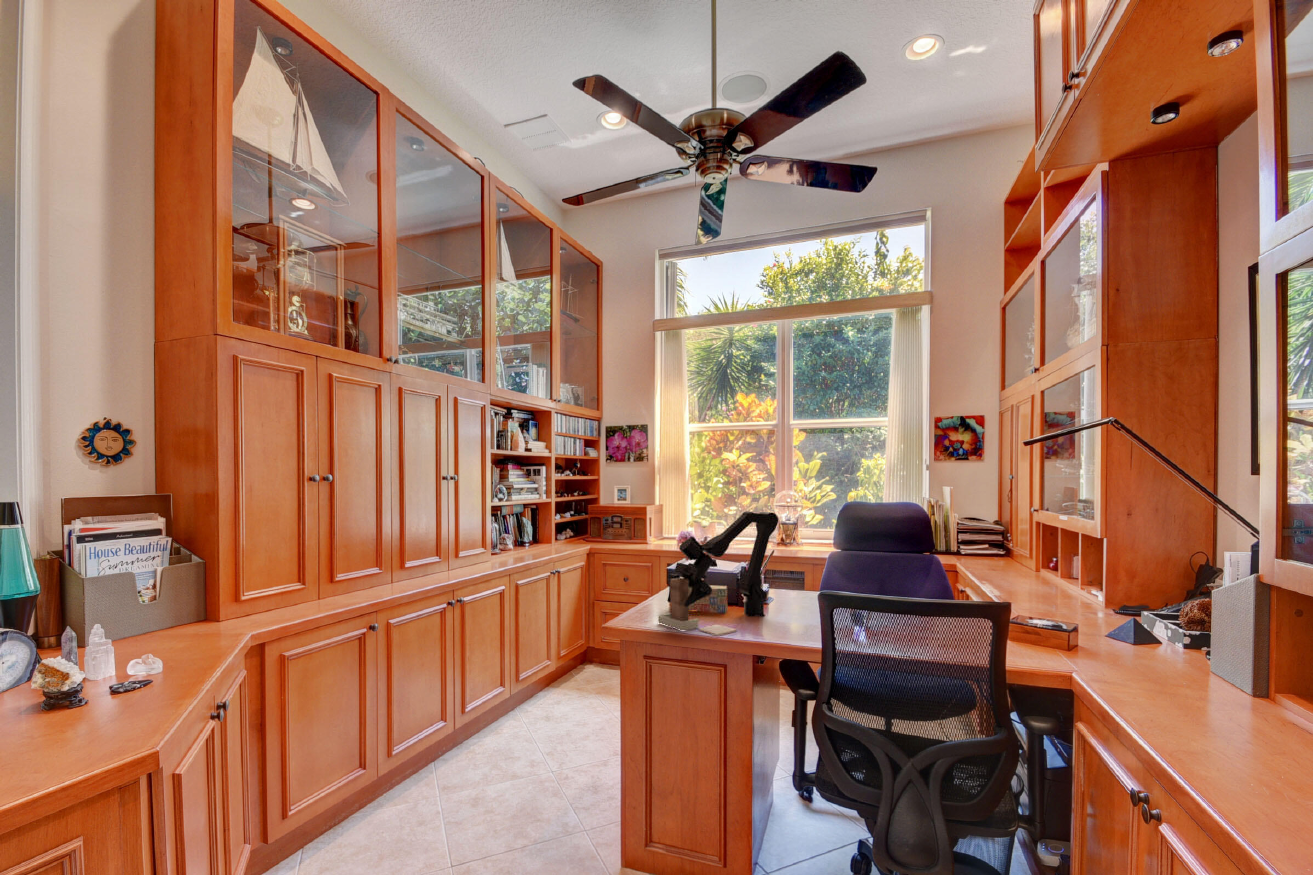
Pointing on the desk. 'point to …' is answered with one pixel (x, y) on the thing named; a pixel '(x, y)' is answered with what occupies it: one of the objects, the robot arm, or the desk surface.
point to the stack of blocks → (711, 600)
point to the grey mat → (717, 630)
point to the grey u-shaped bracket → (677, 622)
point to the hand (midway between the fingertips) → (676, 603)
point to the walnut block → (679, 599)
